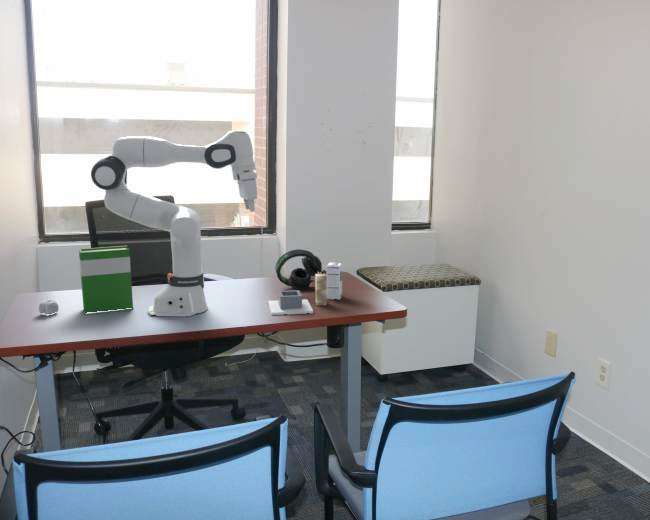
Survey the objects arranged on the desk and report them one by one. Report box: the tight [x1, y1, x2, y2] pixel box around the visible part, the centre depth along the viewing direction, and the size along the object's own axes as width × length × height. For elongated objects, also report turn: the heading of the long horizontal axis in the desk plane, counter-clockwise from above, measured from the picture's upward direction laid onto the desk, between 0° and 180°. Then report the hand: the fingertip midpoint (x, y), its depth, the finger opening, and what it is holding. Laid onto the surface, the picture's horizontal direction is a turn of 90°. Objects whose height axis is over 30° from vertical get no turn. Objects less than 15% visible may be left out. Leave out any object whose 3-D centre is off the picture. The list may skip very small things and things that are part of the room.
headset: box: [274, 249, 326, 290], centre depth 275 cm, size 18×14×29 cm
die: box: [38, 299, 60, 314], centre depth 236 cm, size 5×5×5 cm
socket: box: [267, 289, 314, 316], centre depth 245 cm, size 16×16×6 cm
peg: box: [314, 273, 328, 306], centre depth 250 cm, size 4×4×12 cm
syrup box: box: [325, 262, 343, 301], centre depth 259 cm, size 6×6×14 cm
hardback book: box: [78, 245, 134, 314], centre depth 240 cm, size 18×7×24 cm, turn 114°
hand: (250, 210), depth 237 cm, fingers open, 8 cm apart
